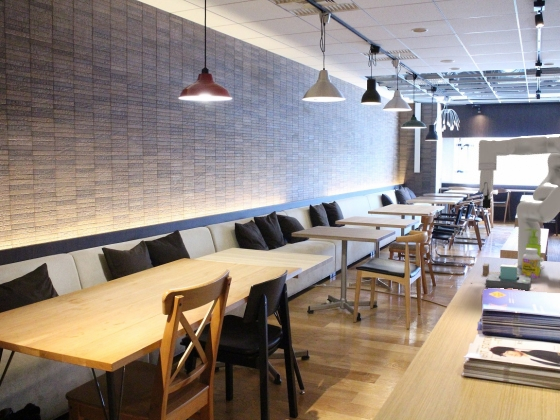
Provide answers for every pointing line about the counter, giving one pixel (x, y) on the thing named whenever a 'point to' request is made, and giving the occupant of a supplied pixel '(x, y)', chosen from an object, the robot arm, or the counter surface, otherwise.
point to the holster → (487, 270)
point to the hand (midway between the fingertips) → (486, 208)
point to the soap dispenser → (534, 242)
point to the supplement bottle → (531, 263)
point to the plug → (508, 272)
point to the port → (508, 282)
